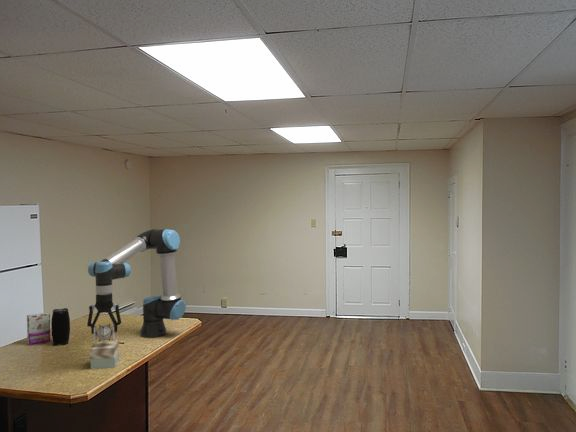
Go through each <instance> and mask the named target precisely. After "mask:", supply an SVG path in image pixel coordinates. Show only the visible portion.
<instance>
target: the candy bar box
mask: <svg viewBox="0 0 576 432" xmlns="http://www.w3.org/2000/svg"><path fill="white" fill-rule="evenodd" d="M26 327H27V328H26V329H27V330H26V332H27V338H26V339H27V345H28V346H34V345H35V346H36V345H40V344H45V343H49V342H51V315H50V312H42V313H35V314H29V315H28V314H27V315H26Z"/></svg>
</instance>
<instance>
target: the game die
mask: <svg viewBox="0 0 576 432" xmlns="http://www.w3.org/2000/svg"><path fill="white" fill-rule="evenodd" d="M96 334H97V338H98V342H103V341H108V342H111V337H112V336H113V328H111V323H109V324H106V325H100V324H98V329H96Z"/></svg>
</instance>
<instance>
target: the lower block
mask: <svg viewBox="0 0 576 432" xmlns="http://www.w3.org/2000/svg"><path fill="white" fill-rule="evenodd" d="M119 353H120V351H118V353H117V354H116V356H115V357H114V358H108V359H90V370H99V369H112V368H116V367H117V364H118V362H119V360H120V359H119V355H120V354H119Z"/></svg>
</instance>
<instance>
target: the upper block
mask: <svg viewBox="0 0 576 432" xmlns="http://www.w3.org/2000/svg"><path fill="white" fill-rule="evenodd" d="M119 348H120V346H119V341H118V340H116V341H100V342H99V341H97V342H96V341H95V343H94V344H93V345H92V346H91V347H90V348H89V360H91V359H108V358H114V357H115V356H116V354H117V353H118V351H119V350H120V349H119ZM119 352H120V351H119Z"/></svg>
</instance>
